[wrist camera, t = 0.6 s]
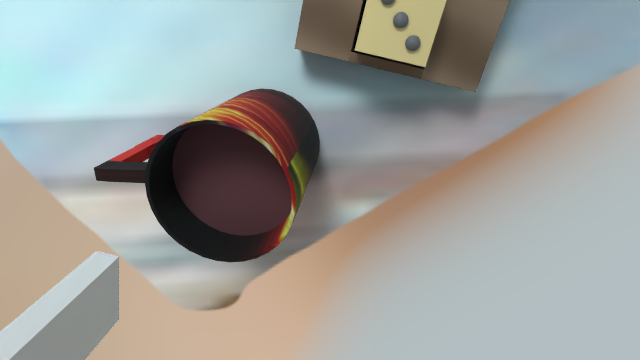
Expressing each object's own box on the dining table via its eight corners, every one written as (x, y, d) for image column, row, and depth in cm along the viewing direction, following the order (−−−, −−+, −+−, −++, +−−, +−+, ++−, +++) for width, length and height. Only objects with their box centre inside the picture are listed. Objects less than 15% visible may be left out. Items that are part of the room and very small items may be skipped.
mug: (160, 133, 35) (65, 181, 24) (289, 69, 32) (247, 91, 21) (212, 218, 38) (149, 296, 27) (336, 168, 34) (322, 234, 23)
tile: (373, -24, 27) (374, -31, 24) (440, -8, 27) (451, -13, 24) (356, 47, 29) (354, 50, 26) (418, 62, 29) (425, 67, 26)
